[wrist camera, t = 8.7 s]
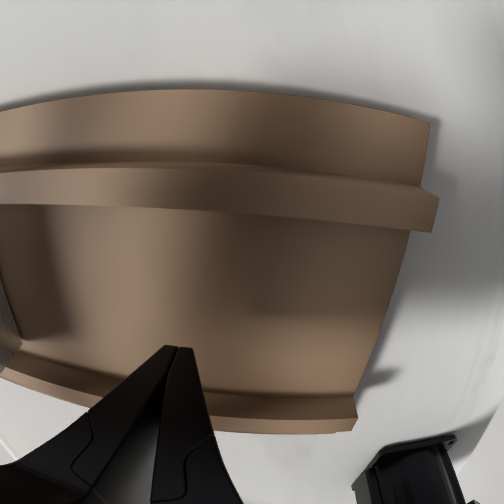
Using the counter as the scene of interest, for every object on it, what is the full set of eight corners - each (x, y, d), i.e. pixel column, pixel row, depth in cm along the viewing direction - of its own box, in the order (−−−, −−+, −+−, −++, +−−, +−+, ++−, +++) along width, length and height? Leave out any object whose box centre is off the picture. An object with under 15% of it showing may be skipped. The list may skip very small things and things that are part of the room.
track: (415, 120, 8) (480, 131, 5) (332, 418, 14) (342, 474, 11) (-82, 140, 8) (-127, 157, 5) (-28, 352, 14) (-53, 384, 11)
